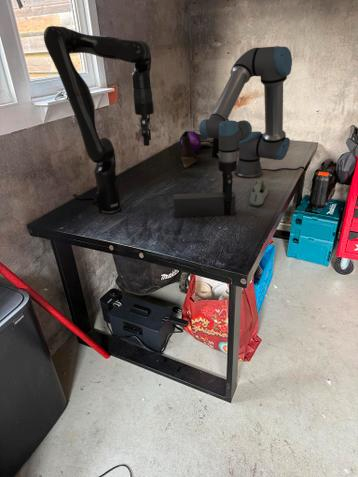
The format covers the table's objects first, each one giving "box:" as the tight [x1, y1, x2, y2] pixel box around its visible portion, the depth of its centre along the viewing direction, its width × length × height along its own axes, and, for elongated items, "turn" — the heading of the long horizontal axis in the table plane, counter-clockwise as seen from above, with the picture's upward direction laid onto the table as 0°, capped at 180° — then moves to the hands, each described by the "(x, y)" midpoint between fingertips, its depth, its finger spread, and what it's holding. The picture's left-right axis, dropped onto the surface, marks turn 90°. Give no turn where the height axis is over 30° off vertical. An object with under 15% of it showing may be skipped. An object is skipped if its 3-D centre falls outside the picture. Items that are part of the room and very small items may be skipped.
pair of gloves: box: [199, 137, 214, 149], centre depth 252 cm, size 30×26×5 cm
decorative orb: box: [178, 130, 202, 153], centre depth 230 cm, size 15×15×15 cm
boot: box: [180, 130, 198, 169], centre depth 209 cm, size 9×24×20 cm, turn 168°
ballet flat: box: [249, 179, 269, 207], centre depth 158 cm, size 8×24×8 cm, turn 163°
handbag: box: [211, 118, 230, 159], centre depth 219 cm, size 21×9×25 cm, turn 148°
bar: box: [173, 191, 236, 218], centre depth 146 cm, size 27×5×9 cm, turn 90°
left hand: (147, 142), depth 135 cm, fingers open, 8 cm apart
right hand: (226, 211), depth 147 cm, fingers closed on bar, 5 cm apart
